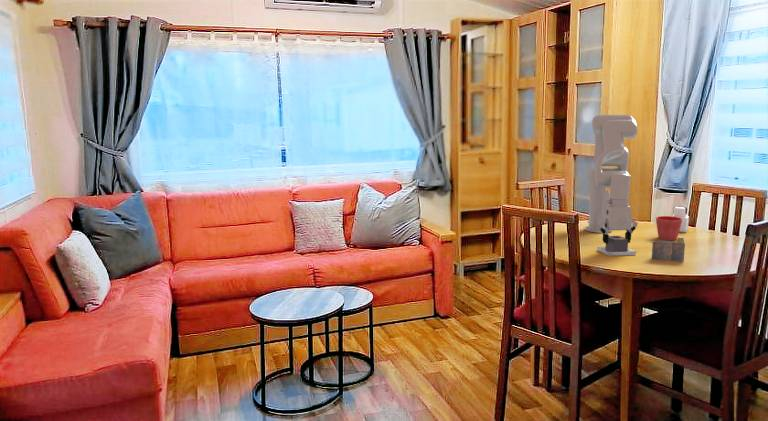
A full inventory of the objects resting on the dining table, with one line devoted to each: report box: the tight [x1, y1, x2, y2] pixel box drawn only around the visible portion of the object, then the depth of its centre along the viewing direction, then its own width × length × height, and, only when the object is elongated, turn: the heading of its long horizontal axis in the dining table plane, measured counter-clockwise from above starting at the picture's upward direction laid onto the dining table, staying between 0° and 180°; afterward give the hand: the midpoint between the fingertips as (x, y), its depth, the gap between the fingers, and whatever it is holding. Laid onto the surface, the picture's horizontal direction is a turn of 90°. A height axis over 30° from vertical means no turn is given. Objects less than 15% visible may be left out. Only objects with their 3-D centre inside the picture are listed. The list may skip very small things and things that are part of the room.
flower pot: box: [655, 215, 682, 241], centre depth 267 cm, size 11×11×10 cm
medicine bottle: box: [671, 205, 690, 233], centre depth 284 cm, size 7×7×12 cm
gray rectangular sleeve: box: [605, 235, 629, 251], centre depth 242 cm, size 7×6×5 cm
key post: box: [596, 238, 637, 257], centre depth 242 cm, size 10×12×6 cm
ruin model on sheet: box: [651, 237, 686, 262], centre depth 230 cm, size 11×3×10 cm, turn 72°
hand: (616, 242), depth 242 cm, fingers open, 9 cm apart
